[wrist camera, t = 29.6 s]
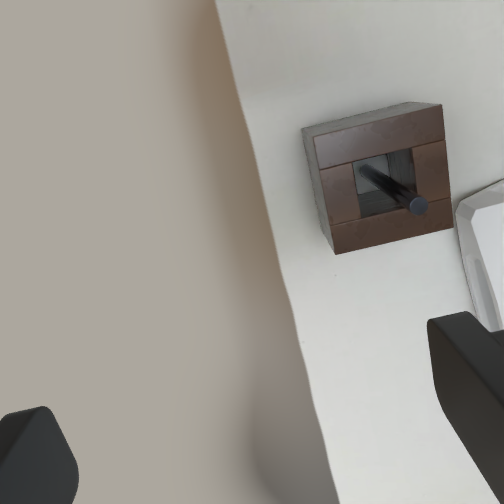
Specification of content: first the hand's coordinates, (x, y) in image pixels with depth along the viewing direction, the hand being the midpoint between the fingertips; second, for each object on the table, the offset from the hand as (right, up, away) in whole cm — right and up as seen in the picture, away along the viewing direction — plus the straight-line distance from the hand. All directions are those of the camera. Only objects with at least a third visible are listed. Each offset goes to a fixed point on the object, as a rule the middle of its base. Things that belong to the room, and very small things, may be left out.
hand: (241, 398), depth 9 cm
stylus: (+11, +11, +33) cm, 36 cm away
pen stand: (+11, +11, +33) cm, 36 cm away
